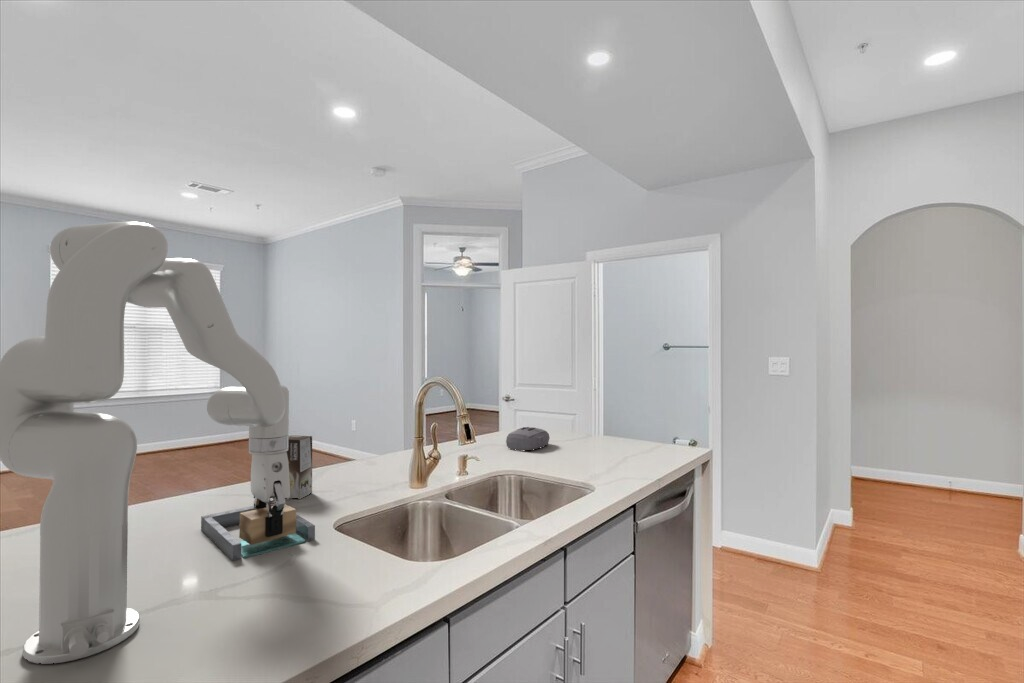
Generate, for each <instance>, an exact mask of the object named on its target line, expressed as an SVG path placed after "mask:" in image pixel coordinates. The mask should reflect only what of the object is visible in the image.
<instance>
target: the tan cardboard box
mask: <svg viewBox="0 0 1024 683" xmlns="http://www.w3.org/2000/svg"><path fill="white" fill-rule="evenodd" d="M272 508H273V506H271V510H272ZM296 514H297V509H296V508H294V507H292V506H290V505H289V504H288V505H287V504H286V503H285V505H284V508H283V532H282V534H279V535H275V536H271V537H266V536H265V518H266V517H268V516H267V508H266V507H265V508H261V509H256V510H252V511H247V512H243V513H240V524H239V538H240V539H241V540H244V541H246V542H247V543H249V544H250V545H254V544H257V543H261V542H265V541H268V540H272V539H276V538H279V537H283V536H287V535H291V534H294V533H296Z"/></svg>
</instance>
